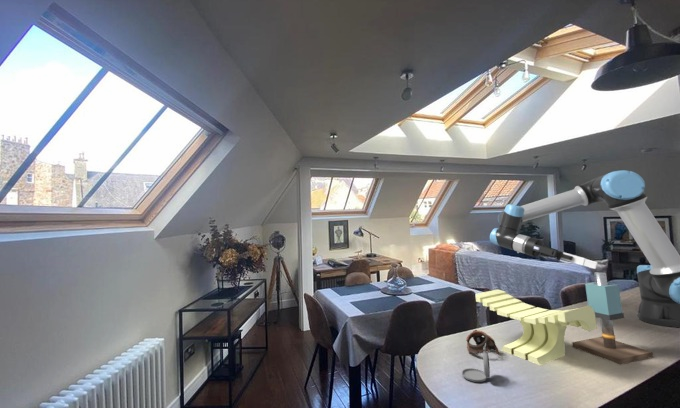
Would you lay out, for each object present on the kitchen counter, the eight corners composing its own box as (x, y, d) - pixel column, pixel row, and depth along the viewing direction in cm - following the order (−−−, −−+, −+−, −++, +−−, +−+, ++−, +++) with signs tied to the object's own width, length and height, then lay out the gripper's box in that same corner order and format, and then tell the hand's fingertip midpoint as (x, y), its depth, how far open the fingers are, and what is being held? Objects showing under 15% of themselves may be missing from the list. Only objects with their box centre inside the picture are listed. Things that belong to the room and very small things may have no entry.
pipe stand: (602, 340, 103) (592, 268, 105) (653, 356, 89) (640, 273, 92) (572, 346, 99) (563, 272, 102) (620, 364, 86) (608, 278, 88)
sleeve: (601, 308, 99) (598, 281, 100) (622, 312, 93) (618, 284, 94) (588, 310, 98) (585, 283, 98) (609, 315, 92) (605, 286, 93)
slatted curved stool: (601, 363, 87) (593, 303, 89) (572, 377, 80) (564, 312, 82) (507, 333, 114) (503, 288, 116) (480, 342, 107) (475, 293, 109)
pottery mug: (507, 360, 93) (495, 340, 92) (480, 372, 95) (468, 353, 94) (489, 337, 105) (479, 319, 104) (466, 348, 106) (456, 330, 105)
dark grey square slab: (602, 312, 99) (601, 308, 99) (624, 317, 93) (623, 313, 93) (588, 315, 98) (587, 310, 98) (609, 320, 91) (609, 315, 91)
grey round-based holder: (457, 373, 86) (454, 338, 87) (484, 370, 87) (481, 336, 88) (472, 387, 78) (469, 349, 79) (501, 384, 79) (497, 346, 80)
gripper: (538, 257, 128) (598, 276, 110) (511, 250, 114) (575, 270, 97) (543, 241, 128) (604, 257, 110) (517, 232, 114) (582, 249, 96)
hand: (590, 263), depth 103 cm, fingers open, 13 cm apart
